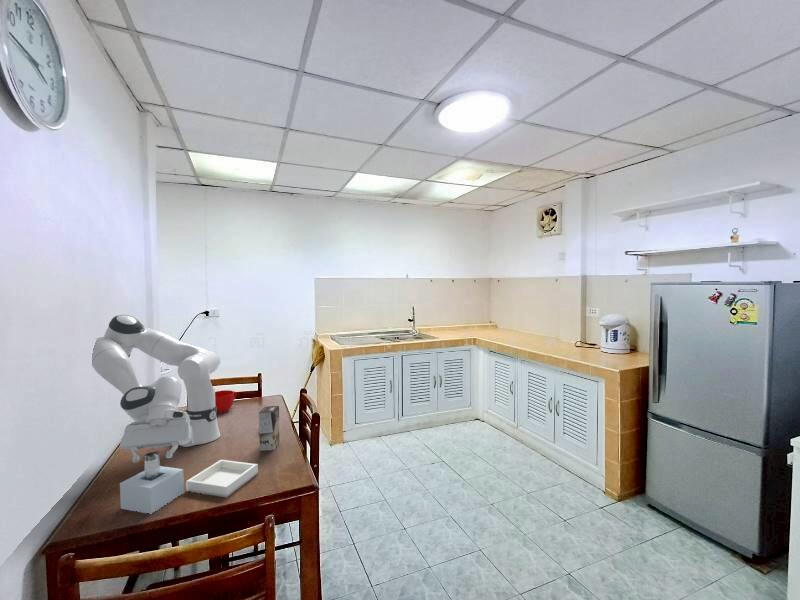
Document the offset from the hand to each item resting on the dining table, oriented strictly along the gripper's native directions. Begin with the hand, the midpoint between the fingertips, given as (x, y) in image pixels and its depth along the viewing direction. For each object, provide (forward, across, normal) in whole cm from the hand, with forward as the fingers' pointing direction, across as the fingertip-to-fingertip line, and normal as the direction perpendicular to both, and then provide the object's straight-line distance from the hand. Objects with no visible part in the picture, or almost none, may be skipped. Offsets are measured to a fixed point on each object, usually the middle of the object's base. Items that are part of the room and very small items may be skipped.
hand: (152, 459), depth 121 cm
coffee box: (-12, +34, +30) cm, 47 cm away
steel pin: (+7, +1, +4) cm, 8 cm away
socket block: (+10, +1, +7) cm, 13 cm away
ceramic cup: (-54, +7, +72) cm, 90 cm away
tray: (+6, +20, +11) cm, 24 cm away
